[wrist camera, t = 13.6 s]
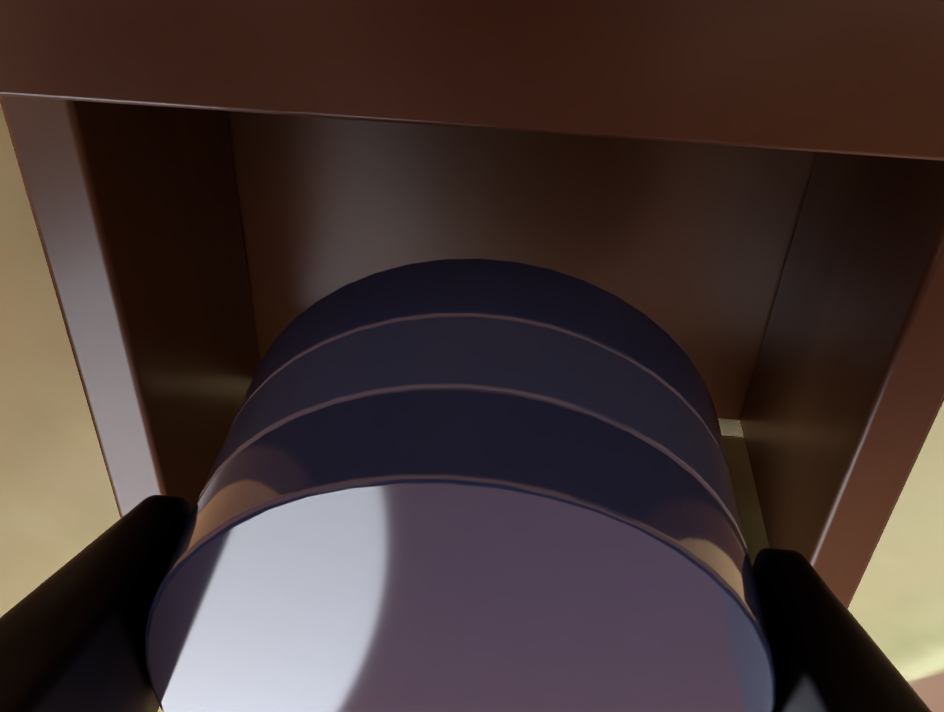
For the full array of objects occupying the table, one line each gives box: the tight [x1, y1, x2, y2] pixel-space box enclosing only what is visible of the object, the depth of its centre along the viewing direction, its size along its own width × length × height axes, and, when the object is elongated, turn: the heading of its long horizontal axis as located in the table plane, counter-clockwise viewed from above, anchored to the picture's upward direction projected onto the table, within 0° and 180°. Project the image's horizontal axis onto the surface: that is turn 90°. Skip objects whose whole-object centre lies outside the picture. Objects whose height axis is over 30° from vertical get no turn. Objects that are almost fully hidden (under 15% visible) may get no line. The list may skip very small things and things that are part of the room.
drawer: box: [0, 95, 944, 609], centre depth 15 cm, size 18×12×6 cm, turn 178°
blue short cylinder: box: [145, 258, 777, 712], centre depth 10 cm, size 6×6×4 cm
